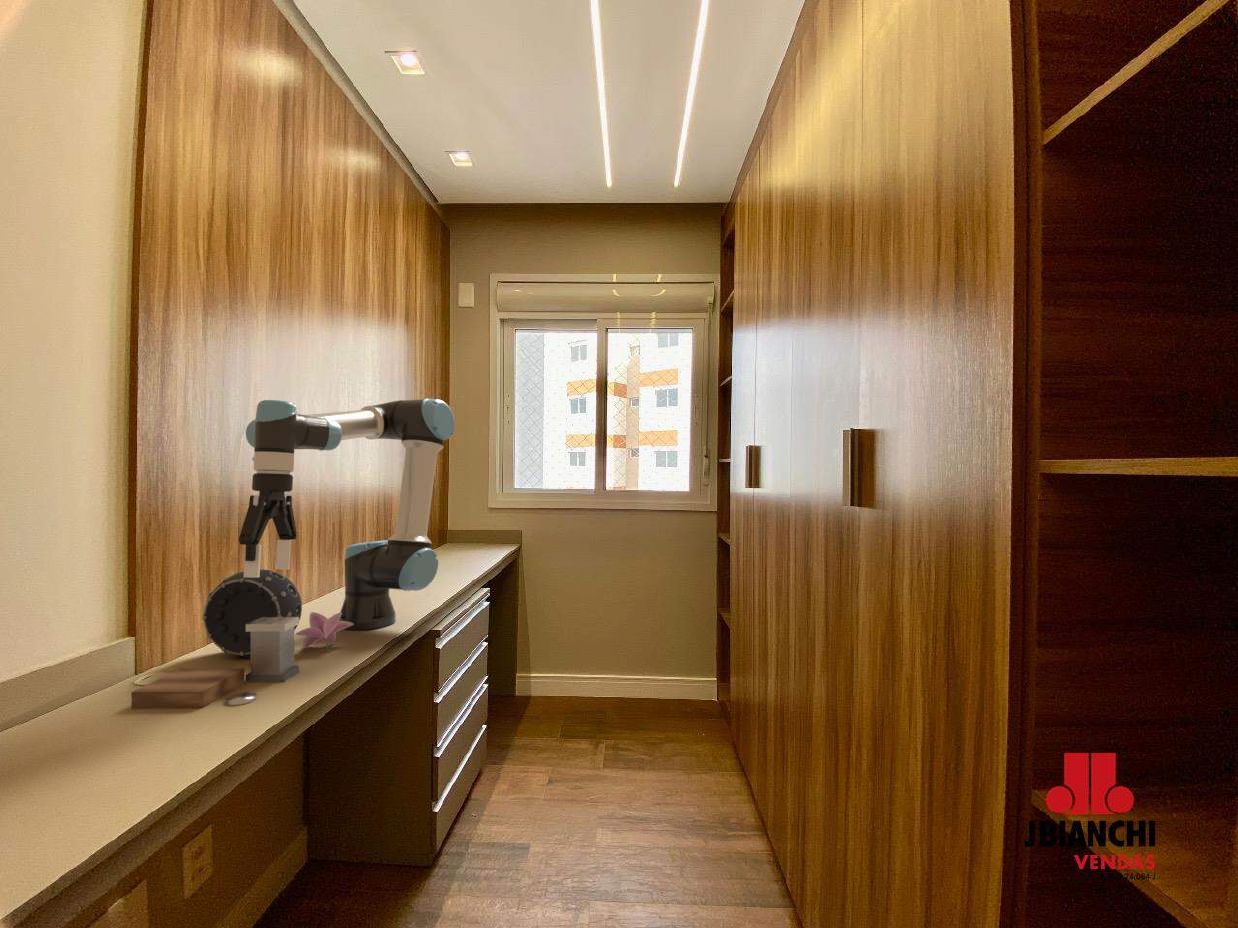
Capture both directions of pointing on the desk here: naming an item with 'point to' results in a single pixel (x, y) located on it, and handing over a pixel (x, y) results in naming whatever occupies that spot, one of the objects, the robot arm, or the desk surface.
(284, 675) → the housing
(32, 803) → the desk surface
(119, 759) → the desk surface
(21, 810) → the desk surface
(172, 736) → the desk surface
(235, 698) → the domed puck
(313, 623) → the lily
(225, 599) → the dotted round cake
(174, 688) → the walnut stand
